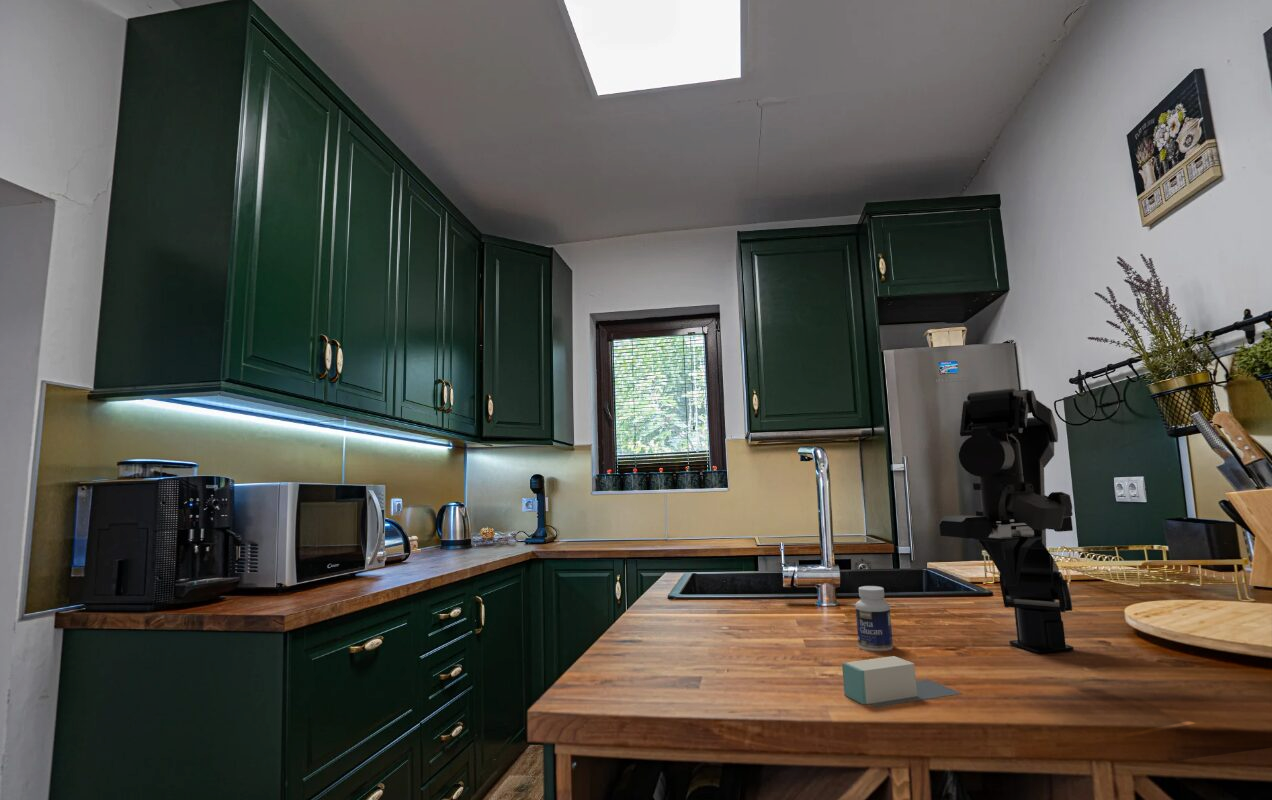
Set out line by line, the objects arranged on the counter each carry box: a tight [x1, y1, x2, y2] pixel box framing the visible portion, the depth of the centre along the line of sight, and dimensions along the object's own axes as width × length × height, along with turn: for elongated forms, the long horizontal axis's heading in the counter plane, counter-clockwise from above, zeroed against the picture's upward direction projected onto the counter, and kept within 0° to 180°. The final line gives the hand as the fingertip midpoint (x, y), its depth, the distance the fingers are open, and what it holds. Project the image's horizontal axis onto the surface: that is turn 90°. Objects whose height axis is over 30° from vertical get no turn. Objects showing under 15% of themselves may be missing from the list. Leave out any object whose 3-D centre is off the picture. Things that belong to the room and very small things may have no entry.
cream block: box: [841, 655, 917, 705], centre depth 86 cm, size 4×4×8 cm
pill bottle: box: [855, 585, 894, 652], centre depth 110 cm, size 5×5×10 cm
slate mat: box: [869, 678, 964, 708], centre depth 86 cm, size 13×7×1 cm, turn 106°
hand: (1011, 585), depth 95 cm, fingers closed
